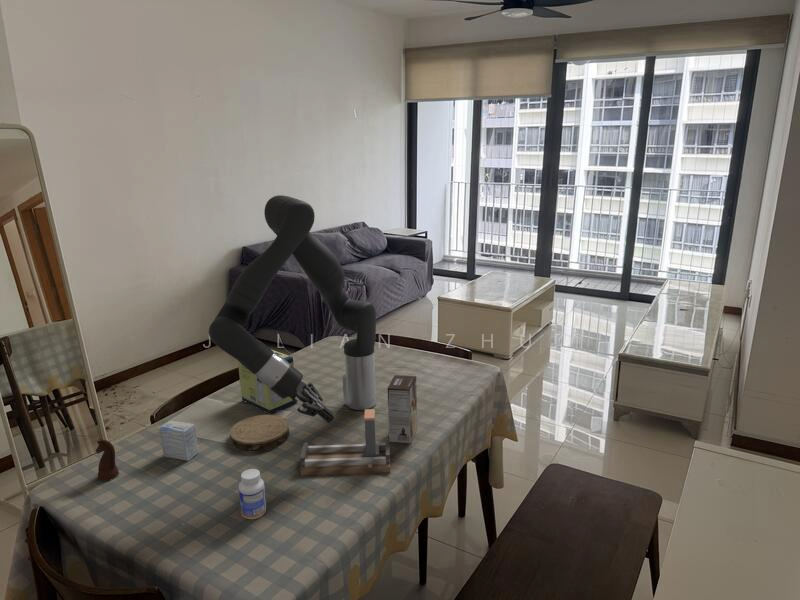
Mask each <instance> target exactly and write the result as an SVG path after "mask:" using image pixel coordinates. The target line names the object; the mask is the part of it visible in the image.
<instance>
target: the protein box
mask: <svg viewBox="0 0 800 600" xmlns="http://www.w3.org/2000/svg"><path fill="white" fill-rule="evenodd" d="M271 350H272V351H273V352H275V353H276V354H278V355H279V356H281V357H282V358H283V359H285V360H286V361H287V362H288V363H289V364H291V365H292V366H293V367H294V368H295V366H294V357H293V356H291V355H288V354H284V353H282V352H279V351H276V350H273V349H271ZM237 366H238V374H239V375H238V376H239V383H240V394H241V401H242V400H244V401H246V402H247V403H246V402H245V403H246V404H248V403H249V405H250V404H251V405H250V406H252V405H253V406H252V407H254V406H255V407H254V408H256V407H257V408H256V409H258V408H259V410H260V409H261V410H260V411H262V410H263V411H262V412H264V411H265V412H264V413H266V412H267V413H266V414H268V413H272V414H274V413H276V411H277V412H279V411H281V410H284V409H286V408H288V407H290V406H293V405H296V403H295V402H294V401H293V400H292V399H291V398H290V397H286V398H285V399H282V398H281V397H279V396H278V395H277V394H276V393H275V392H273V391H272V390H271V389H270V388H268V387H267V386H266V385H265V384H263V383H262V382H261V381H260V380H259V379H258V378H257V377H256V376H255V375H254V374H253V373H252V372H250V371H249V370H248V369H247V368H246V367H244V366H243V365H242V364H241V363H240V362H239V361H238V360H237ZM244 401H243V402H244ZM273 412H274V413H273Z"/></svg>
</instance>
